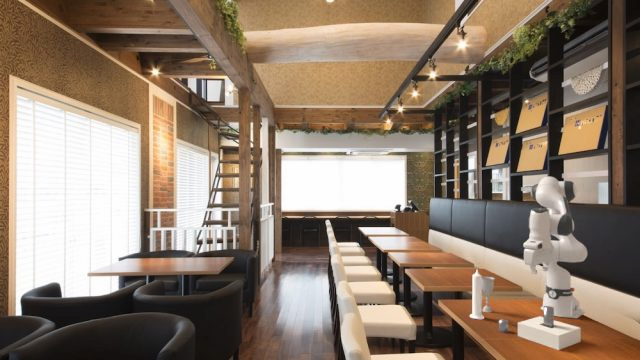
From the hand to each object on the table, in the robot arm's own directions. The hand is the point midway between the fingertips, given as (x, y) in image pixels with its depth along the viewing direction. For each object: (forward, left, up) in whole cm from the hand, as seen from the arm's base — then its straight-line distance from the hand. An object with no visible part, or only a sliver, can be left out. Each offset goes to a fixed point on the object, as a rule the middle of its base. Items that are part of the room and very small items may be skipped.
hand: (539, 272), depth 186 cm
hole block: (+5, +7, -28) cm, 29 cm away
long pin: (+4, +7, -28) cm, 29 cm away
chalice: (-6, -32, -28) cm, 43 cm away
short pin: (+14, -9, -28) cm, 33 cm away
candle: (+8, -28, -28) cm, 41 cm away
